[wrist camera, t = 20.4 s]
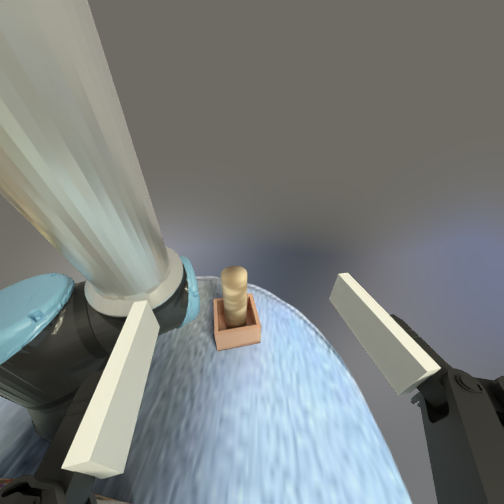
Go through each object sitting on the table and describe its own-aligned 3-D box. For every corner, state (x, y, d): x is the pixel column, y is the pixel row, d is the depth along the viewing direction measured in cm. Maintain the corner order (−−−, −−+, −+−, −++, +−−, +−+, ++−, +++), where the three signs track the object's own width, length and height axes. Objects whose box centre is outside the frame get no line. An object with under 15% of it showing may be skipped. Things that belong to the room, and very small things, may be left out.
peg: (226, 337, 41) (222, 284, 32) (224, 318, 45) (219, 267, 36) (248, 332, 42) (249, 280, 33) (244, 315, 46) (244, 264, 37)
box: (217, 351, 39) (214, 335, 36) (216, 314, 47) (213, 298, 44) (260, 342, 41) (261, 327, 37) (251, 308, 49) (252, 293, 45)
